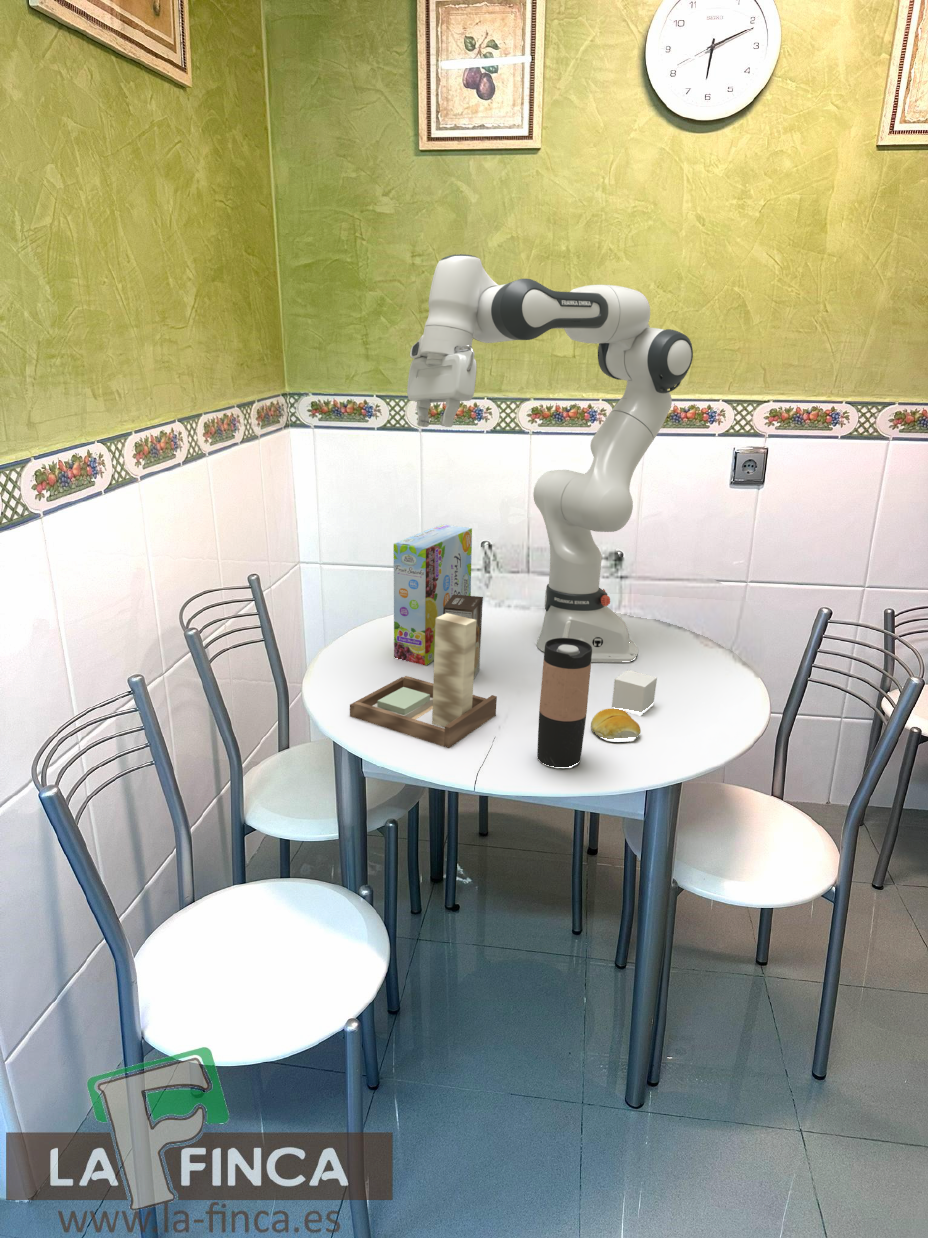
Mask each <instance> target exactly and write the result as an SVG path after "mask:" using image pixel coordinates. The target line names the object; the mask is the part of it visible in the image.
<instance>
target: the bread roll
mask: <svg viewBox="0 0 928 1238" xmlns="http://www.w3.org/2000/svg"><path fill="white" fill-rule="evenodd" d="M629 714H630V713H628V712H625V711H623V710H619V709H614V708H605V709H602V710H600V711H598V712H597V713H596V714H595V715H594V716H593V717H592V719H591V721H590V728H591V731H592V733H594V732H595V733H594V734H595V735H596V736H597V735H598V736H599V737H603V738H607V739H614V738H628V737H637V736H638V735H639V734H641V727H640V724H639V723H638V722H637V721H635V720H634V719H633V718H632V716H631V715H629ZM598 736H597V737H598ZM639 736H640V735H639ZM639 736H638V737H639ZM599 737H598V738H599ZM638 737H637V738H638Z"/></svg>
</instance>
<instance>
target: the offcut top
mask: <svg viewBox="0 0 928 1238" xmlns="http://www.w3.org/2000/svg"><path fill="white" fill-rule="evenodd" d="M428 701H430V694H426V693H423V692H419V691H416V690H413V689H409V688H406V687H402V688H400V689H398V690H397V691H395V692H393V693H391V694H389V695H387V696H385V697H383V698H382V699H380V700H378V701H377V707H380V708H383V709H386V710H389V711H393V712H396V713H399V714H402V715H406V714H407V713H409V712H411V711H412V710H414V709H416V708H418V707H419V706H421V705H423V704H425V703H426V702H428Z"/></svg>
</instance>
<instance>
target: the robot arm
mask: <svg viewBox="0 0 928 1238" xmlns="http://www.w3.org/2000/svg"><path fill="white" fill-rule="evenodd" d="M482 264H483V263H482V260H481V258H479V257H477V256H475V255H471V254H466V253H465V254H462V253H461V254H451V255H448V256H445V257H443V258H441V259H439V261H438V262H437V264H436V267H435V270H434V273H433V276H432V280H431V285H430V286H431V287H430V290H429V294H428V295H429V297H428V317H427V319H426V321H425V324H424V330H423V334H422V335H421V336H420V338H419V339H418V340H417V341H416V342H415V343H414V344H413V345H412V346H411V348H410V352H409V356H410V358H411V359H412V360H411V363H410V367H409V371H408V376H407V377H408V379H407V388H406V389H407V390H406V394H407V398H408V400H409V401H412V402H415V403H416V407H415V408H416V414H417V421H416V425H417V426H418V427H422V428H427V427H429V425H430V422H431V421H430V420H431V418H430V417H429V409H430V408H431V403H432V404H433V403H445V404H444V405H445V410H444V413H443V415H441V416H440V423H439V424H440V426H441V427H444V428H451V427H453V424H454V420H455V419H454V418H455V416H456V415H457V413H458V411H459V409H460V406H461V405H460V404H461V402H469V401H470V402H471V400H472V399H473V397H474V394H475V391H476V389H475V388H476V381H477V380H476V379H477V368H478V367H477V360H476V358H475V355H476V354H475V351H474V349H473V347H472V344H473V340H475V341H478V342H481V343H485V344H493V343H503V342H509V341H511V342H512V341H530V340H534V339H536V338H538V337H540V336H542V335H543V334H545V333H547V332H549V331H550V330H553V329H559V330H561V329H563V330H564V331H565V333H566V335H567V336H568V338H569V339H570V340H572V341H574V342H579V343H585V344H598V347H597V363H598V366H599V368H600V370H601V371H602V374H605V375H606V376H607V377H609V378H612V379H614V380H619V381H621V380H623V381H626V386H625V389H624V393H623V395H622V397H621V398H620V399H619V400H618V401H617V402H616V404H615V405H614V407H613V408H612V410H610V412H609V413H608V415H607V417H606V418H605V419H604V421H603V423H602V424H601V425H600V427H599V428H598V430H597V431H596V433H594V436H592V439H591V441H590V450H591V451H590V452H591V454H592V457H593V460H592V463H591V465H590V467H589V469H588V470H587V472H585V473H582V472H579V471H574V470H569V469H556V470H555V469H554V470H549V471H546V472H544V473H543V474H541V475H540V476H539V478H538V479H537V480H536V483H535V485H534V486H533V487H534V488H533V493H532V495H533V500H534V504H535V506H536V508H537V509H538V510H539V511H540V513H541V516H542V518H543V521H544V525H545V529H546V532H547V537H548V538H547V539H548V542H549V555H550V556H549V557H550V558H549V571H548V572H549V574H548V576H549V577H548V583H547V585H546V588H545V593H544V610H545V613H544V618H543V622H542V627H541V630H540V634H539V636H538V639H537V642H536V647H537V648H538V649H539V650H540V651H542V652H543V653H544V650H545V644H546V642H547V641H549V640H551V639H555V638H572V639H578V640H581V641H584V642H587V643H588V644H590V645H591V647H592V658H591V663H623V662H622V661H631V660H633V659H634V658H635V657H636V656H637V654H638V655H639V652H638V651H639V650H638V646H637V645H636V643H635V642H634V641H633V640H631V639H630V634H629V630H628V626H627V624H626V622H625V621H624V620H623V619H622V618H621V617H620V616H619V615H618V614H617V613H616V612H615V611H613V610H612V609H611V608H610V607H609V605H610V604H611V598H610V596H609V595H608V592H606V590H605V589H604V588H603V589H602V588H600V581H601V579H600V578H601V570H602V569H601V567H602V560H603V558H602V552H601V550H600V548H599V547H598V545H597V544H596V542H595V540H594V538H593V535H592V532H596V533H597V532H599V533H614V532H618V531H620V530H622V529H623V527H625V526H626V525H627V523H628V522H629V521H630V519H631V517H632V513H633V510H634V509H633V508H634V507H633V506H634V505H633V503H634V502H633V497H632V495H631V492H630V491H631V490H630V487H631V481H632V477H633V474H634V472H635V470H636V468H637V467H638V465H639V463H640V461H641V460H642V458H643V457H644V455H645V453H646V452H647V451H648V449H649V448H650V446H652V445H651V444H652V443H653V442H654V440H655V439H656V437H657V435H658V434H659V432H660V430H661V429H662V428H663V425H664V424H665V421H666V418H667V416H668V414H669V413H670V411H671V410H670V409H671V408H672V403H673V402H672V401H673V400H672V396H671V392H673V391H675V390H676V389H677V388H678V387H679V386H680V384H681V382H682V381H683V380H684V378H685V377H686V376H687V374H688V372H689V370H690V368H691V366H692V364H693V359H694V350H693V343H692V341H691V339H690V338H689V336H688V335H686V334H684V333H682V332H681V331H679V330H676V329H662V328H658V327H657V328H656V327H650V326H651V325H649V322H650V318H651V307H650V302H649V301H648V299H647V297H646V296H645V294H643V293H642V292H641V291H639V290H637V289H633V288H630V287H626V286H622V285H621V286H620V285H614V284H613V285H612V284H590V285H583V286H579V287H576V288H573V289H571V290H570V291H557V290H553V289H551V288H548V287H547V286H545V285H543V284H542V283H540V282H538V281H537V280H534V279H530V278H520V279H519V278H518V279H515V280H514V281H511V282H508V283H505V284H498V283H497V282H495V281H494V280H493V279H492V277H491V276H490V275H489V274H488V273H487V271H486V270H485V268H484V266H483V265H482ZM629 642H630V643H629Z"/></svg>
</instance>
